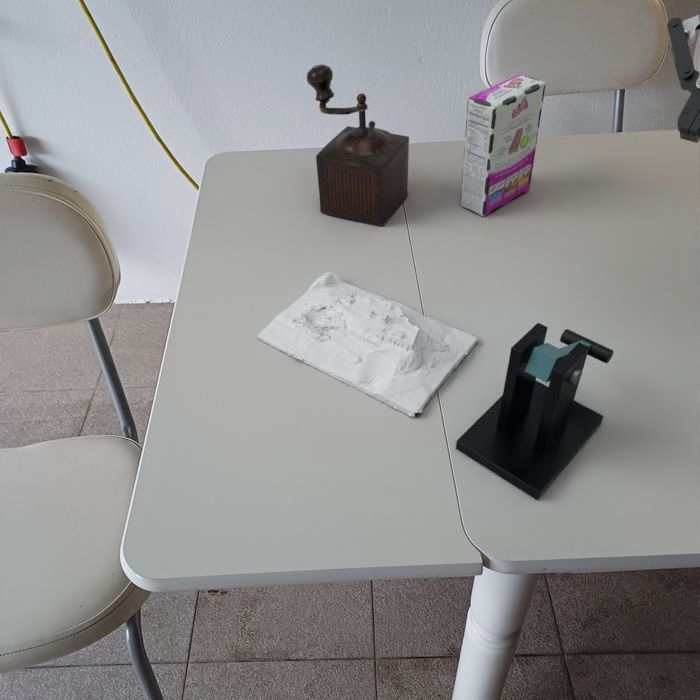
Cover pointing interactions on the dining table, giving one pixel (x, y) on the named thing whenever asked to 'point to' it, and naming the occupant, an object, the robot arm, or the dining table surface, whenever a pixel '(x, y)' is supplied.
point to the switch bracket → (533, 421)
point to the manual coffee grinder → (359, 163)
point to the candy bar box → (500, 143)
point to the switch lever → (562, 354)
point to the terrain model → (369, 342)
